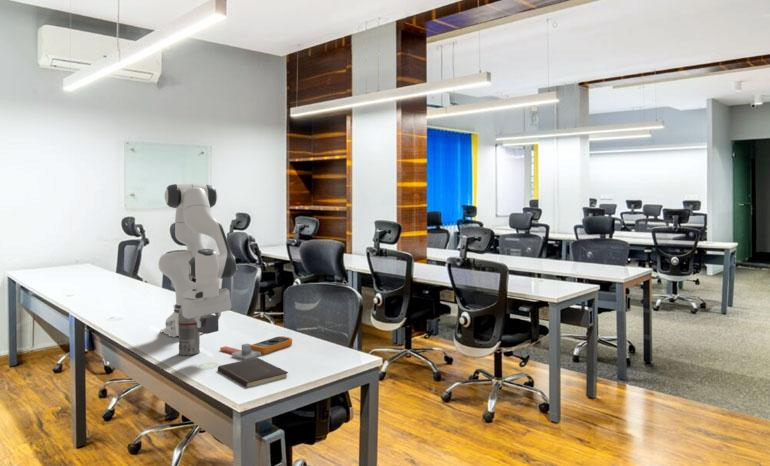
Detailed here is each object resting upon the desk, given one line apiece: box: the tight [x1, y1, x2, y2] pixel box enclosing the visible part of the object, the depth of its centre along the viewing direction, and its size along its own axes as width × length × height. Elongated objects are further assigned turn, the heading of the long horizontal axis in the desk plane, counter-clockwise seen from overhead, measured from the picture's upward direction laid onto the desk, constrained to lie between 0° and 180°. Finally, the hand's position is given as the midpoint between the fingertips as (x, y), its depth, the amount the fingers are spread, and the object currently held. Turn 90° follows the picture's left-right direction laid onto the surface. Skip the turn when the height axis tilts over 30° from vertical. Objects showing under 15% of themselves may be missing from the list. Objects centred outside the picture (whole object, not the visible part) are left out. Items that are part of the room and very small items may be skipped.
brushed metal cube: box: [198, 314, 219, 335], centre depth 205 cm, size 6×6×6 cm
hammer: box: [219, 343, 262, 361], centre depth 213 cm, size 19×8×5 cm, turn 54°
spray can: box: [178, 306, 201, 357], centre depth 213 cm, size 8×8×20 cm
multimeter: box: [251, 335, 293, 355], centre depth 221 cm, size 9×18×3 cm, turn 148°
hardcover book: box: [217, 357, 289, 388], centre depth 188 cm, size 16×23×2 cm
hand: (207, 325), depth 205 cm, fingers closed on brushed metal cube, 6 cm apart
